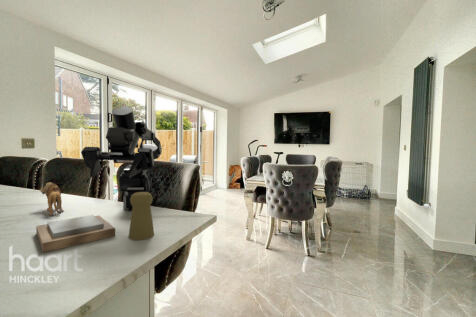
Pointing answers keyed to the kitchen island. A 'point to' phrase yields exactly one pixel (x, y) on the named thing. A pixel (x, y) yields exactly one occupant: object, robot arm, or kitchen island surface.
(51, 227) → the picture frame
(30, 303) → the kitchen island surface
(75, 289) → the kitchen island surface
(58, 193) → the lion figurine
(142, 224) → the cork
